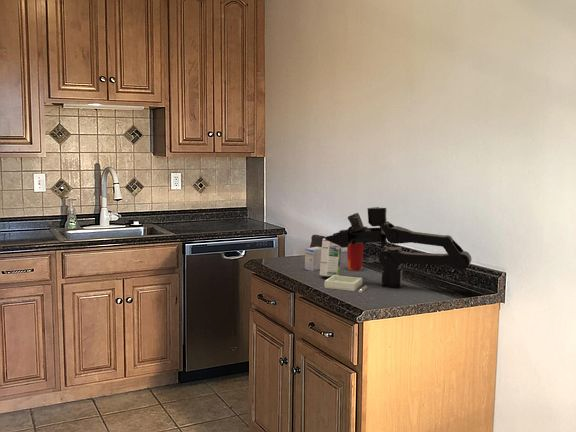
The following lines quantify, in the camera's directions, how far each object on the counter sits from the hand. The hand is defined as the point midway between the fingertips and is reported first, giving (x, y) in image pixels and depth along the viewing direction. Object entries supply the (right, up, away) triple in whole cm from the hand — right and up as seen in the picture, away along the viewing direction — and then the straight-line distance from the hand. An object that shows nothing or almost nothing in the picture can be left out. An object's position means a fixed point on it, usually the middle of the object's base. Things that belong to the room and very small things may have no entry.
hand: (329, 236), depth 244 cm
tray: (+5, -18, -10) cm, 21 cm away
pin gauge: (+11, -19, -15) cm, 27 cm away
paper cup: (+12, -14, +22) cm, 28 cm away
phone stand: (-3, -13, +34) cm, 36 cm away
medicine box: (-5, -14, +21) cm, 26 cm away
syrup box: (0, -16, +3) cm, 16 cm away
